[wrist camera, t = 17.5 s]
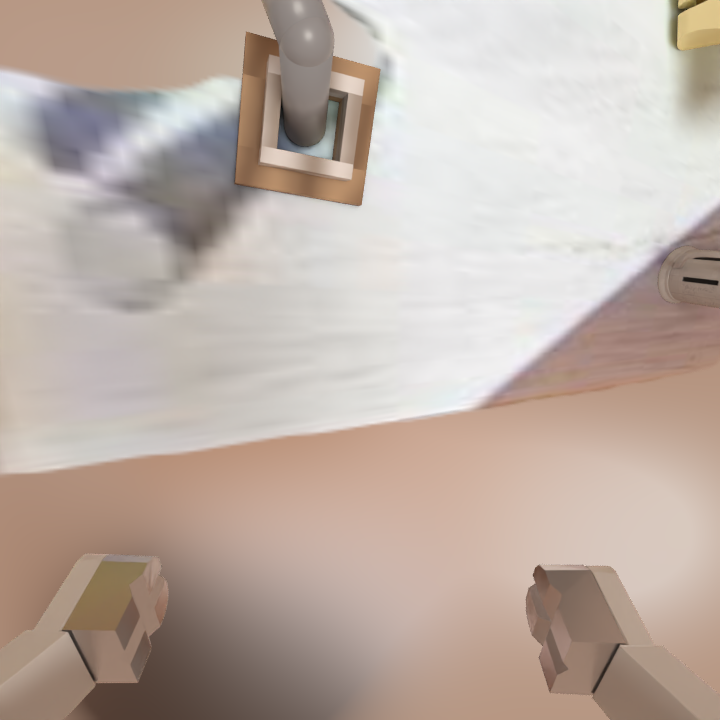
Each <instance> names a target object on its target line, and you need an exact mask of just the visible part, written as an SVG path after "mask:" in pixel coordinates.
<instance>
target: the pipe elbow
mask: <svg viewBox="0 0 720 720" xmlns="http://www.w3.org/2000/svg"><path fill="white" fill-rule="evenodd" d="M262 3H263V6H264V8H265V10H266V13H267V16H268V19H269V21H270V24H271V26H272V29H273V31H274V34H275V37H276V39H277V42H278V44H279V56H280V71H281V85H282V99H283V114H284V127H285V131H286V134H287V136H288V137H289V138H290V139H291V140H292V141H293V142H294V143H296V144H298V145H301V146H312V145H315V144H316V143H318V142H319V141H320V140H321V139H322V138H323V136H324V134H325V129H326V119H327V109H328V99H329V89H330V79H331V69H332V59H333V49H334V33H333V29H332V26H331V23H330V21H329V18H328V15H327V13H326V11H325V8H324V5H323V2H322V0H262Z"/></svg>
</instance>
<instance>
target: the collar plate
mask: <svg viewBox="0 0 720 720" xmlns="http://www.w3.org/2000/svg"><path fill="white" fill-rule="evenodd" d="M379 76H380V69H378V68H375V67H371V66H367V65H364V64H360V63H357V62H353V61H349V60H345V59H342V58H339V57H335V56H333V59H332V69H331V79H330V89H329V99H328V100H332V101H336V102H339V108H338V116H337V124H336V132H335V141H334V149H333V157H332V160H328V159H324V158H319V157H314V156H309V155H304V154H299V153H295V152H290V151H285V150H280V149H277V140H278V130H279V119H280V108H281V97H282V85H281V71H280V56H279V44H278V42H277V40H274V39H271V38H267V37H264V36H260V35H257V34H253V33H249V32H246V37H245V51H244V64H243V77H242V91H241V105H240V118H239V132H238V145H237V159H236V173H235V184H238V185H243V186H249V187H255V188H260V189H266V190H271V191H277V192H283V193H288V194H294V195H300V196H305V197H311V198H317V199H322V200H328V201H333V202H339V203H345V204H350V205H356V206H360V205H362V198H363V191H364V183H365V176H366V169H367V162H368V155H369V148H370V140H371V133H372V126H373V119H374V112H375V104H376V97H377V90H378V83H379Z"/></svg>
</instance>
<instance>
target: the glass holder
mask: <svg viewBox="0 0 720 720" xmlns="http://www.w3.org/2000/svg"><path fill="white" fill-rule="evenodd" d="M658 289H659V293H660V295H661V296H662V298H663V299H664V300H666V301H667V302H669V303H680V302H687V303H692V304H698V305H704V306H710V307H716V308H720V251H715V250H698V249H696V248H694V247H691V246H682V247H679V248H677V249H675V250H674V251H673V252H671V253H670V254H669V255H668V257H667V258H666V259H665V261H664V262H663V264H662V266H661V269H660V272H659V276H658Z"/></svg>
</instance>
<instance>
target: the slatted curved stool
mask: <svg viewBox="0 0 720 720" xmlns="http://www.w3.org/2000/svg"><path fill="white" fill-rule="evenodd" d="M691 7H692V8H691ZM678 8H679V9H685V8H690V9H688V10H686V11H684V12H682V13H681V14H679V15H678V33H677V47H678V49H680V50H690V49H695V48H700V47H706V46H711V45H717V44H720V0H678Z"/></svg>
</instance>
